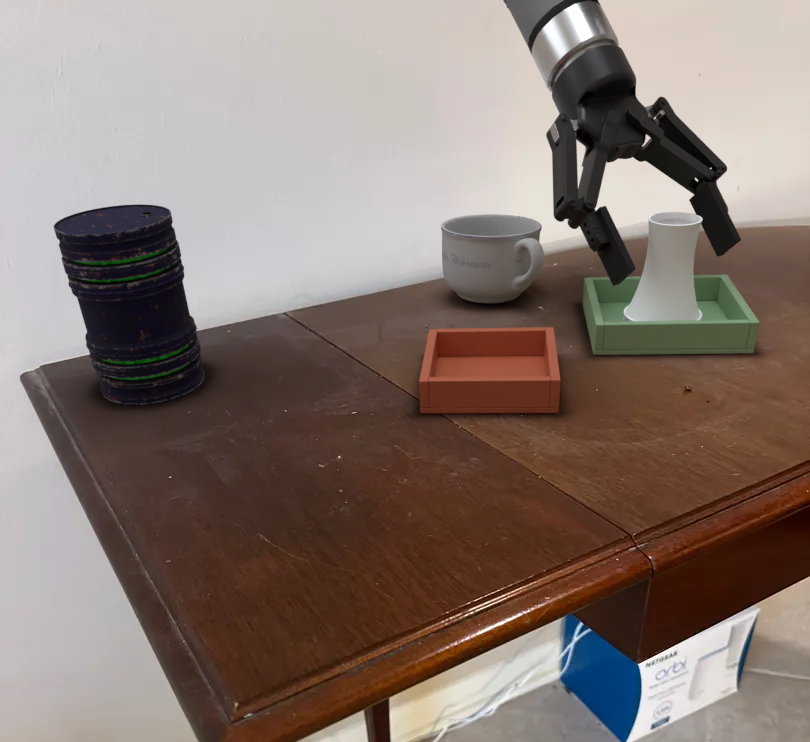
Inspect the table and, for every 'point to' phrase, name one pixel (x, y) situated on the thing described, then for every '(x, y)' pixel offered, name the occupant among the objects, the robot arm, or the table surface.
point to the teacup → (491, 256)
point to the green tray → (714, 334)
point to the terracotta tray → (490, 371)
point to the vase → (668, 271)
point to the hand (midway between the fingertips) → (678, 262)
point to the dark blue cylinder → (132, 301)
